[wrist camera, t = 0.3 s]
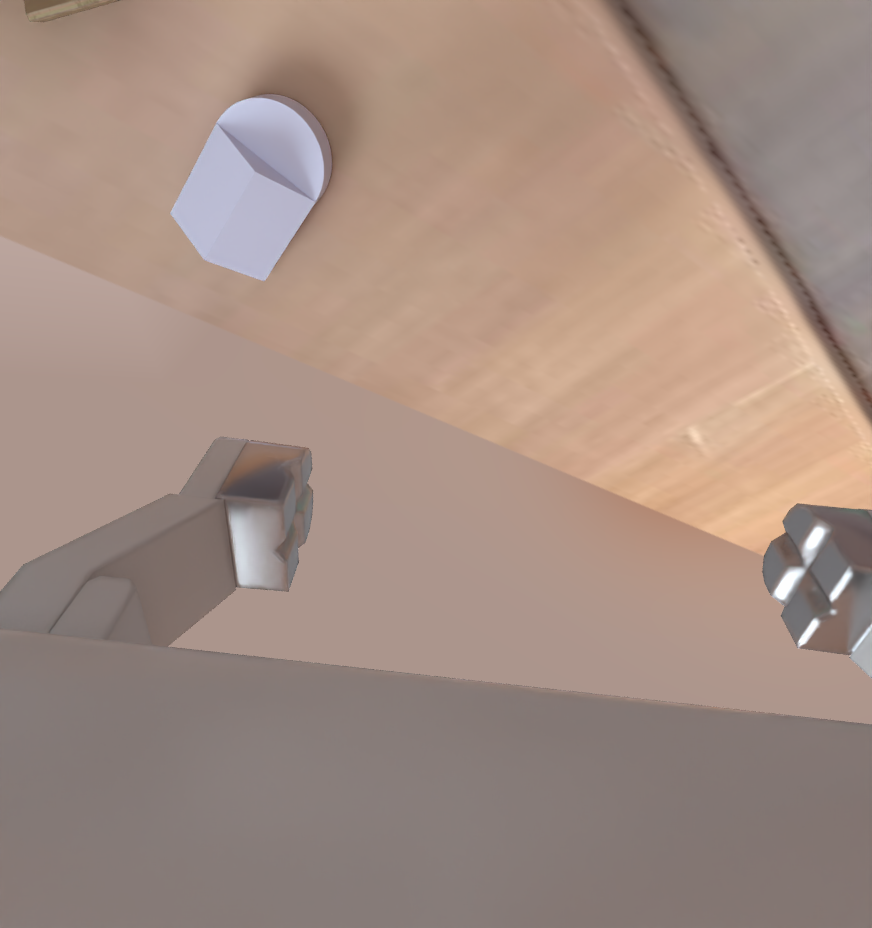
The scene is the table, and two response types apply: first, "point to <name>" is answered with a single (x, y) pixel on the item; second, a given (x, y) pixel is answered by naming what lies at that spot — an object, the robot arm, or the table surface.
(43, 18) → the banker's lamp
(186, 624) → the robot arm
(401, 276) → the table surface
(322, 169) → the wedge on round base
